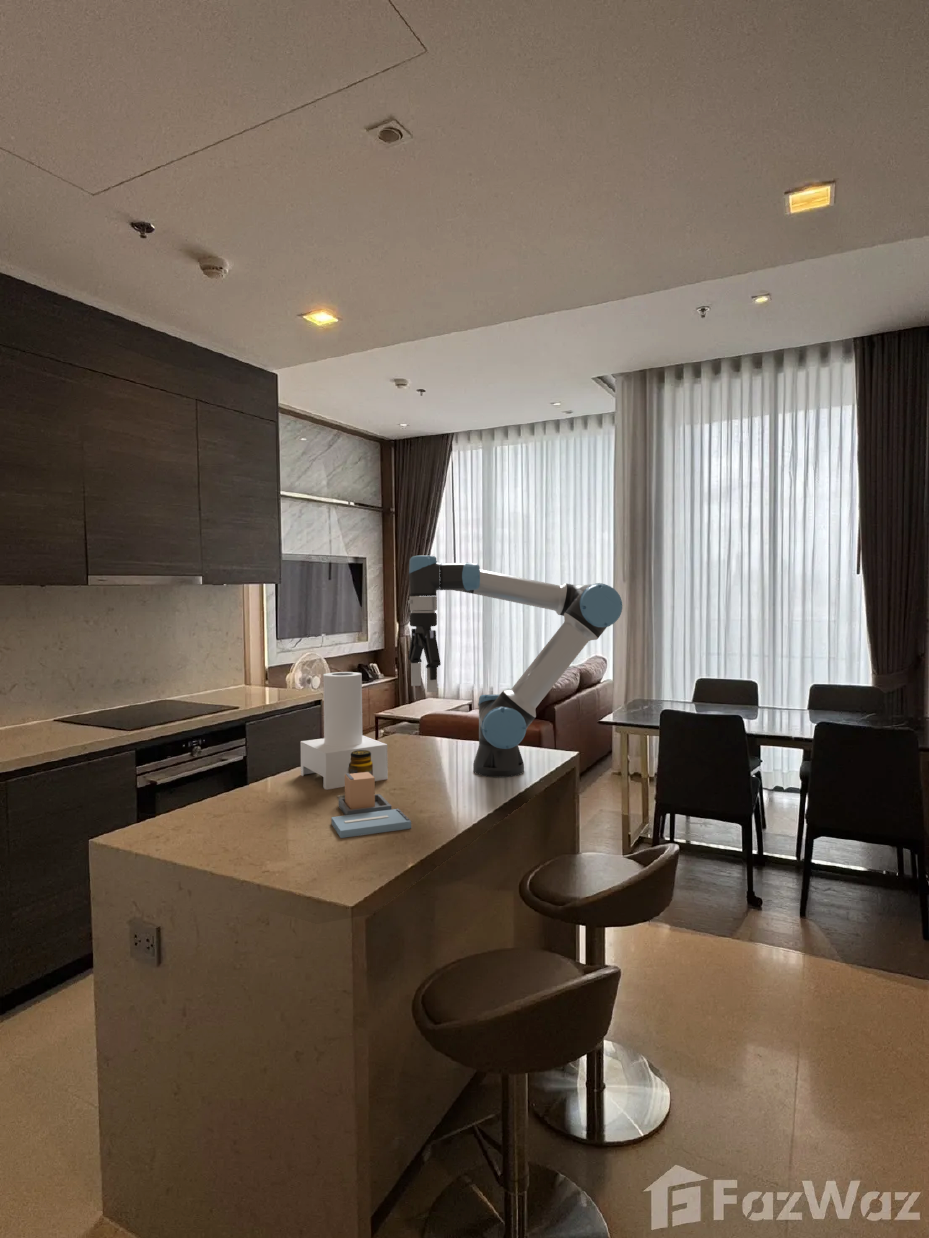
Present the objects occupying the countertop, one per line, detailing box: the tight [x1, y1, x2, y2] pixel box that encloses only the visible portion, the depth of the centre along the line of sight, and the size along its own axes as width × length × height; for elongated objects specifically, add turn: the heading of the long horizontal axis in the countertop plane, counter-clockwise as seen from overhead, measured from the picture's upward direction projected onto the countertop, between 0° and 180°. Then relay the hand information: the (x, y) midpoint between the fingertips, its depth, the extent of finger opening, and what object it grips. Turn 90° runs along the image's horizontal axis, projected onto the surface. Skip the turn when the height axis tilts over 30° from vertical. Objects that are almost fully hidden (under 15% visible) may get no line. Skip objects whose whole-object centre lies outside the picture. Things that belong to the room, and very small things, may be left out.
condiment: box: [337, 750, 373, 799], centre depth 179 cm, size 7×8×12 cm
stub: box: [344, 772, 376, 810], centre depth 168 cm, size 6×6×8 cm
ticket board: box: [330, 808, 412, 839], centre depth 157 cm, size 16×10×2 cm, turn 112°
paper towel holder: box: [300, 671, 389, 791], centre depth 199 cm, size 19×19×30 cm
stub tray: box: [338, 793, 392, 816], centre depth 168 cm, size 11×11×2 cm
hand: (423, 688), depth 190 cm, fingers open, 13 cm apart
